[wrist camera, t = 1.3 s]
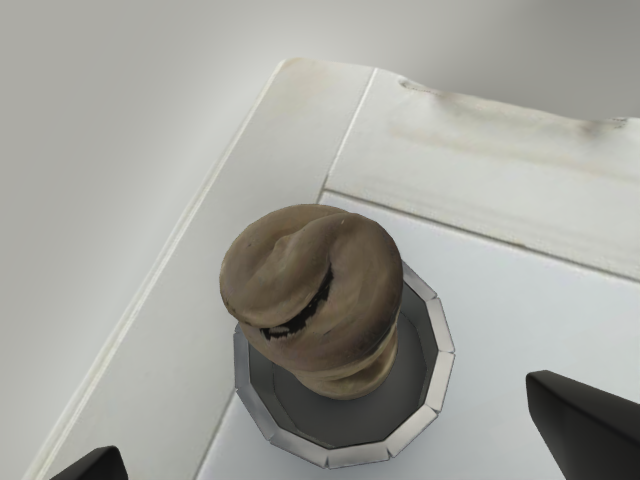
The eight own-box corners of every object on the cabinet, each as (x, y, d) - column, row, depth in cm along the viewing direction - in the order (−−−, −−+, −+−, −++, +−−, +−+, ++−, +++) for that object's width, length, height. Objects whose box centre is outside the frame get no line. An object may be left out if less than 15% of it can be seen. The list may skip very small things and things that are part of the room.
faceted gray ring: (479, 375, 23) (502, 357, 18) (333, 511, 21) (320, 526, 16) (357, 249, 27) (352, 210, 23) (228, 350, 25) (196, 328, 21)
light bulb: (287, 392, 24) (168, 316, 11) (318, 306, 26) (251, 155, 13) (380, 426, 22) (377, 389, 9) (405, 332, 24) (431, 192, 11)
